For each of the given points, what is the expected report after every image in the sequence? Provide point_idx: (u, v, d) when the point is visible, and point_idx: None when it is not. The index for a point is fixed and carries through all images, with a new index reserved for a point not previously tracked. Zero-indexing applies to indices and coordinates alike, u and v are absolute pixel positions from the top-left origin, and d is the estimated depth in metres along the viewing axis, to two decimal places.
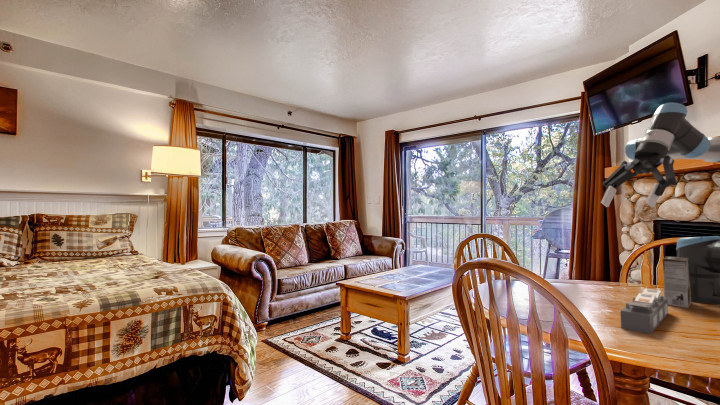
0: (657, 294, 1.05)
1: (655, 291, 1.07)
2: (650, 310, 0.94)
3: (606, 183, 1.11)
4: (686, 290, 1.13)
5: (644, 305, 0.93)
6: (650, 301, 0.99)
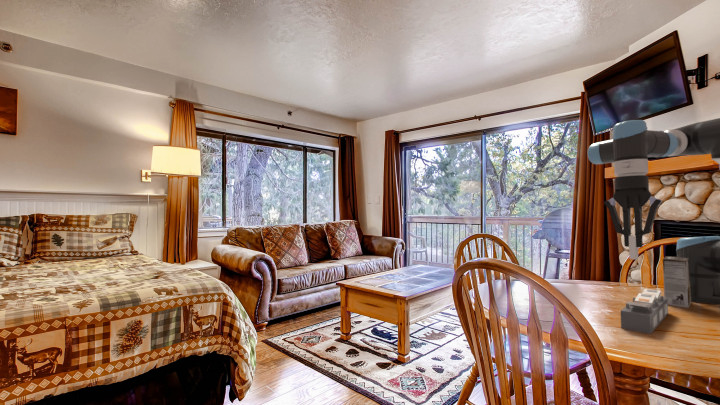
0: (657, 294, 1.05)
1: (655, 291, 1.07)
2: (650, 310, 0.94)
3: (620, 229, 0.96)
4: (686, 290, 1.13)
5: (644, 305, 0.93)
6: (650, 301, 0.99)
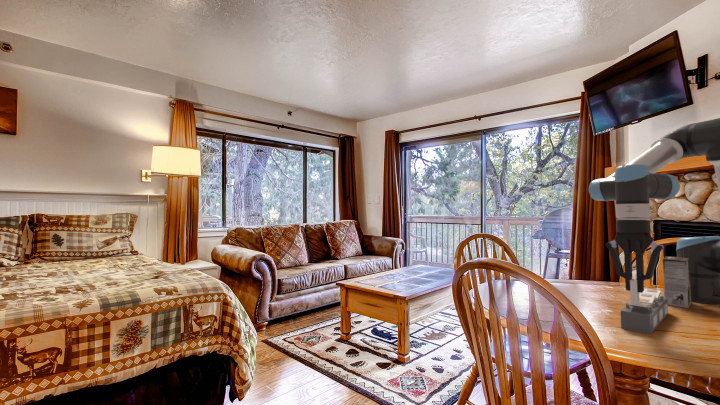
0: (657, 294, 1.05)
1: (655, 291, 1.07)
2: (650, 310, 0.94)
3: (621, 272, 0.95)
4: (686, 290, 1.13)
5: (644, 305, 0.93)
6: (650, 301, 0.99)
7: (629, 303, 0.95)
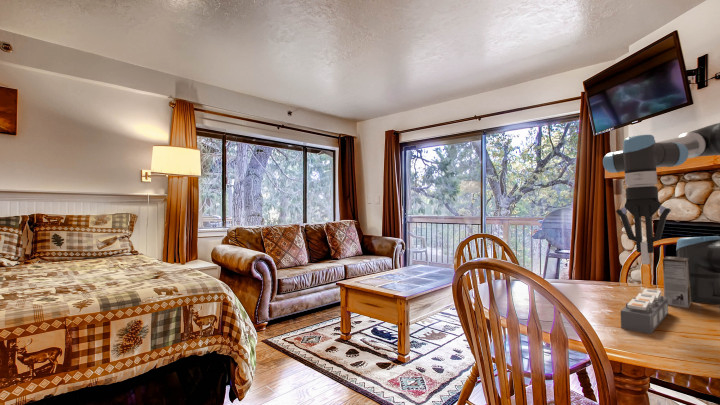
0: (657, 294, 1.05)
1: (655, 291, 1.07)
2: (650, 310, 0.94)
3: (632, 236, 1.03)
4: (686, 290, 1.13)
5: (644, 308, 0.93)
6: (650, 301, 0.99)
7: (629, 306, 0.95)
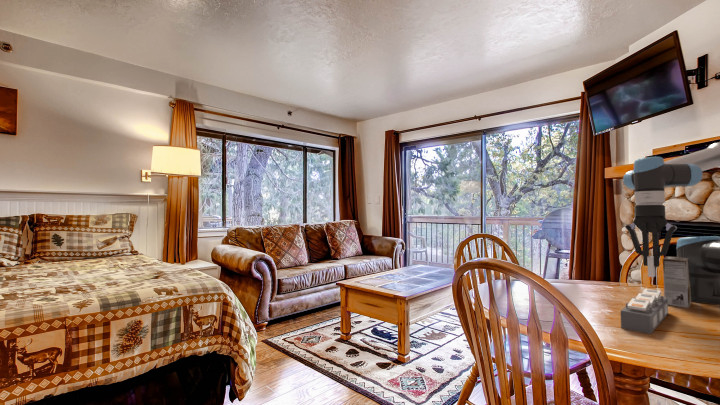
0: (657, 294, 1.05)
1: (655, 291, 1.07)
2: (650, 310, 0.94)
3: (640, 250, 1.11)
4: (686, 290, 1.13)
5: (644, 309, 0.93)
6: (650, 301, 0.99)
7: (629, 307, 0.95)
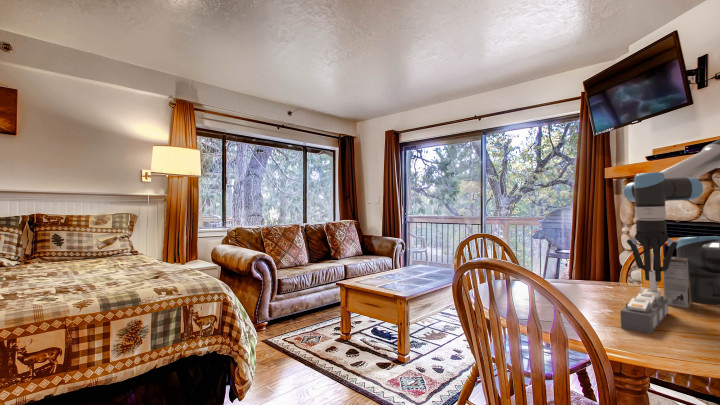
0: (657, 294, 1.05)
1: (655, 291, 1.07)
2: (650, 310, 0.94)
3: (641, 265, 1.11)
4: (686, 290, 1.13)
5: (644, 310, 0.93)
6: (650, 301, 0.99)
7: (629, 307, 0.95)
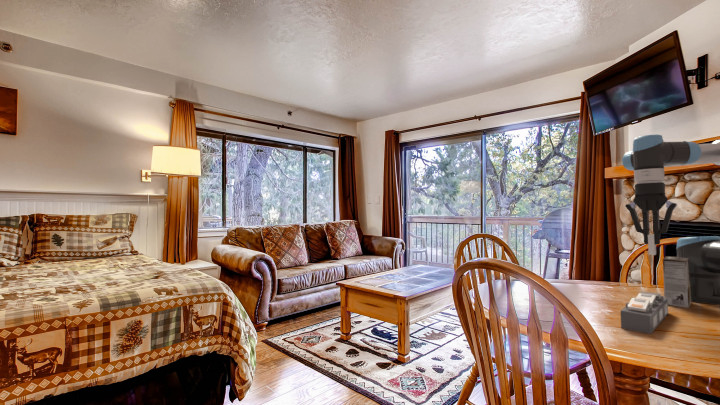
0: (657, 293, 1.06)
1: None
2: (650, 310, 0.94)
3: (640, 229, 1.11)
4: (686, 290, 1.13)
5: (644, 310, 0.93)
6: (650, 301, 0.99)
7: (629, 308, 0.95)
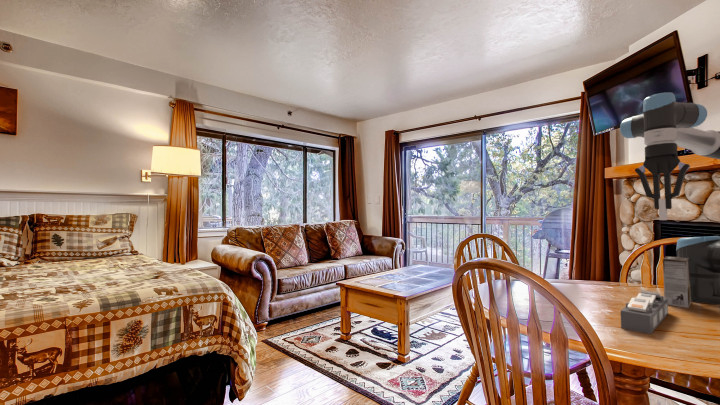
0: None
1: None
2: (650, 310, 0.94)
3: (650, 193, 1.05)
4: (686, 290, 1.13)
5: (644, 310, 0.93)
6: (650, 301, 0.99)
7: (629, 308, 0.95)
